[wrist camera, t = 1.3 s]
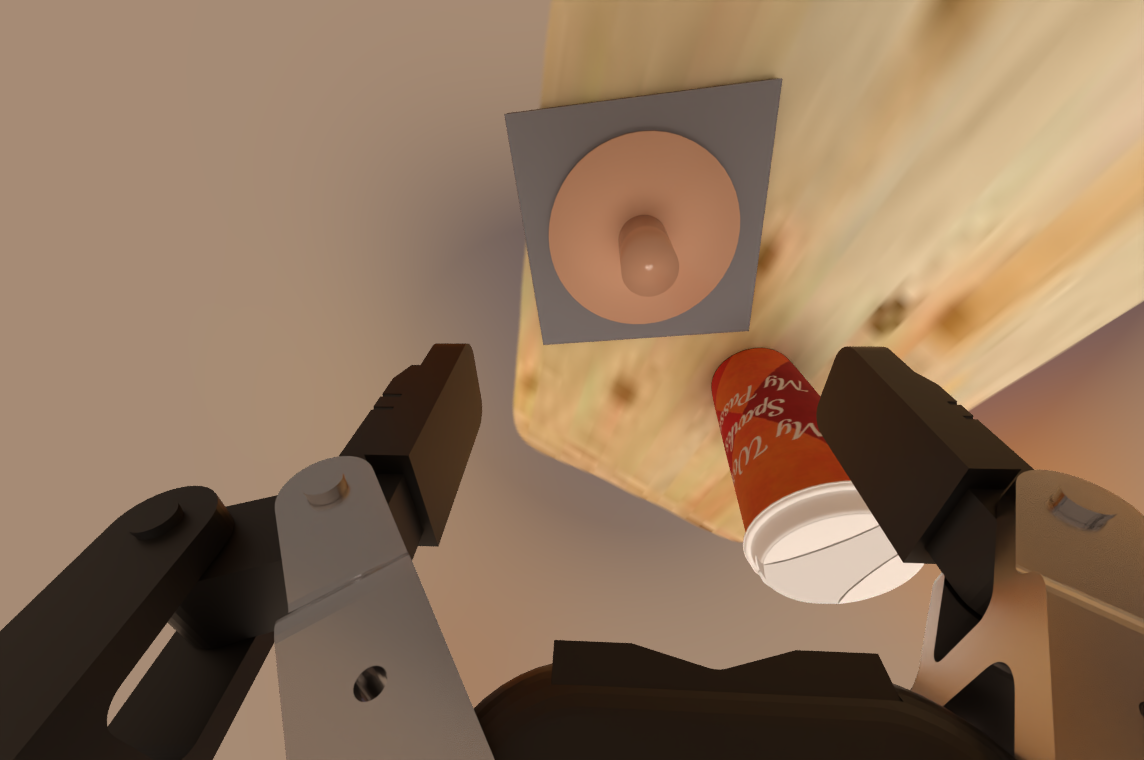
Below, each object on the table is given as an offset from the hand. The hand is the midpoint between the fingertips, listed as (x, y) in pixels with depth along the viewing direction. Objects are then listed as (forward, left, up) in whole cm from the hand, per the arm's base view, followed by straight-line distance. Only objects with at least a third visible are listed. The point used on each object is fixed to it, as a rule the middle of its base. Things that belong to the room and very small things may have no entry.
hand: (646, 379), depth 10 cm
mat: (-1, +2, -19) cm, 19 cm away
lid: (-1, +2, -18) cm, 18 cm away
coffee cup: (-9, +14, -20) cm, 26 cm away
